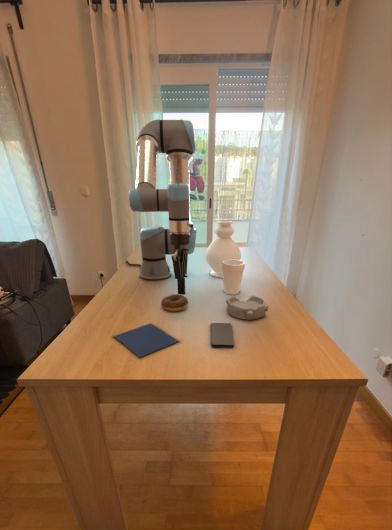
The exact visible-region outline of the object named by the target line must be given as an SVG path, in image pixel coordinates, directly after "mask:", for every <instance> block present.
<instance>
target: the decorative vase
mask: <svg viewBox="0 0 392 530" xmlns="http://www.w3.org/2000/svg"><path fill="white" fill-rule="evenodd" d="M216 224H217V226H216V227H215V228H214V230H213V231H214V234H215V235H216V237H215V238H214V239H213V240H212V241H211V242H210V244H209V245H208V247H207V249H206V251H205V255H204V257H205V261H206V263H207V265H208V266H209V267H210V268H211V270H210V272H209V274H210V276H212V277H214V278H215V277H216V278H219V279H221V278H222V279H223V268H222V262H223V261H224V260H228V259H237V260H241V259H242V253H241V250H240V247H239V246H238V243H236V241H235V240H234V239H233V238H232V237H231V236H232V235H234V233H235V228H234V227H233V226H232V224H233V220H229V219H226V220H225V219H222V220H216Z"/></svg>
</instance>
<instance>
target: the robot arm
mask: <svg viewBox="0 0 392 530" xmlns="http://www.w3.org/2000/svg"><path fill="white" fill-rule="evenodd" d="M195 137H196V136H195V128H194V124H193V122H192V121H191V120H190V119H182V118H181V119H153V120H151V121H149V122H148V123H146V124H144V126H143V127H142V128H141V130H140V131H139V132H138V135H137V137H136V142H135V148H136V152H137V163H136V164H137V166H136V177H135V178H136V179H135V188H132V189H131V188H130V189H129V191H128V203H129V207H130V210H131V211H132V212H139V213H153V212H155V213H156V212H158V213H159V212H162V213H163V212H164V213H165V212H168V228H165V226H164V225H162V224H155V225H150V226H146V227H143V228H141V229H140V231H139V241H140V251H141V260H142V261H141V263H140V264H139V263H130V262H129V260H128V259H126V260H125V264H127V265H129V266H136V267H140V271H139V277H140V279H143V280H146V281H160V280H165V279H168V278H170V277H171V268H170V266H169V264H168V261H167V256H169V255H170V256H171V261H172V267H173V273H174V274H173V275H174V279H175V280H177V281H176V282H177V283H176V284H177V294H178V295H183V296H185V295H186V278H188V275H187V274H188V257H189V256H188V255H192V254H193V253H194V252H195V248H196V240H197V228H195V227H194V223H193V222H192V221H191V200H190V198H191V195H190V194H191V191H190V162H191V161H192V160H193V155H194V154H195V153H196V138H195ZM159 154H165V159H166V160H167V161H168V162H169V178H170V179H169V181H170V183H169V184H168V185H167V187H166V188H157V159H158V158H157V157H158V156H159Z"/></svg>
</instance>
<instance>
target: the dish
mask: <svg viewBox="0 0 392 530" xmlns="http://www.w3.org/2000/svg"><path fill="white" fill-rule="evenodd" d="M225 303H226V305H227V307H226V309H227V312H228V314H229V315H231V316H232V317H234V318H237V319H242V320H256V319H257V320H258V319H260V318H262V317H263V316H265V315H266V312H268V311H269V305H268V304H267V301H266V300H265V298H262V297H260V296H257V295H251V296H250V297H249V298H248V299H246V300H240V299H239V298H237V297H236V296H235V295H231V296H230V297H227V298H225Z"/></svg>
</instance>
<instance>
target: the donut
mask: <svg viewBox="0 0 392 530" xmlns="http://www.w3.org/2000/svg"><path fill="white" fill-rule="evenodd" d="M160 305H161V308H162V309H164V310H166V311H169V312H180V311H183V310H185V309H186V308H187V307H188V305H189V301H188V298H187V297H186V296H185V295H181V294H178V293H176V294H169V295H167V296H164V297H163V298H162V299H161V302H160Z"/></svg>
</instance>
